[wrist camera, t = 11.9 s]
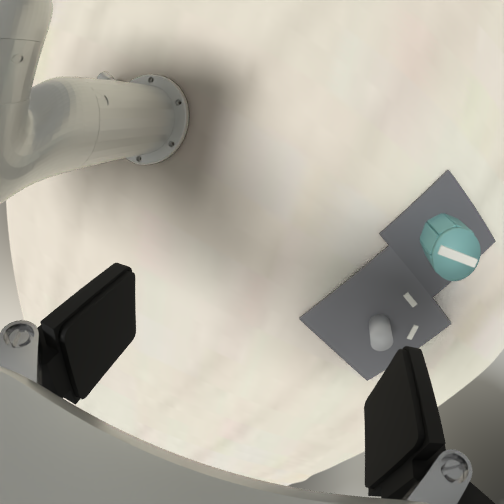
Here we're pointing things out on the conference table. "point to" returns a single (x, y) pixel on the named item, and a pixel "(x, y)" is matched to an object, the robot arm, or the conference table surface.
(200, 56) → the conference table surface
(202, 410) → the conference table surface
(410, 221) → the mat
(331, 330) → the post plate
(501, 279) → the conference table surface
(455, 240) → the cap
